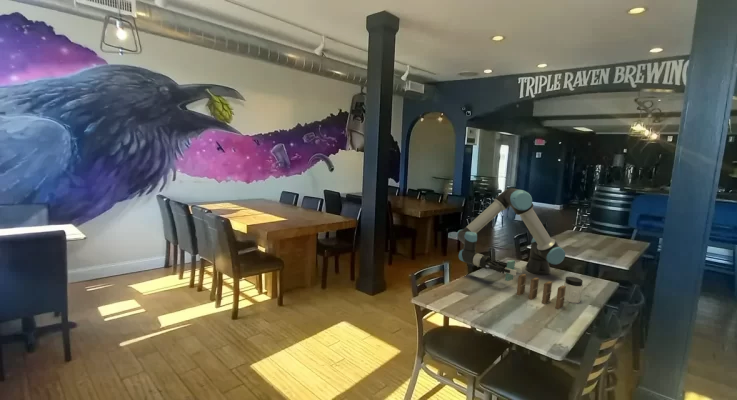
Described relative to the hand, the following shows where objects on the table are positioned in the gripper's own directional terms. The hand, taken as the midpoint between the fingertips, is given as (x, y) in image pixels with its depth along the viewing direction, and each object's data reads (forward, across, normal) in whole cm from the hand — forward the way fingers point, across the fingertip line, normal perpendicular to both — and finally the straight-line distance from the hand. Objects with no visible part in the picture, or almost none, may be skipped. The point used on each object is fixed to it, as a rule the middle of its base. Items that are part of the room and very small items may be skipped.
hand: (518, 272), depth 206 cm
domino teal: (-5, 0, -6) cm, 8 cm away
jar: (+23, -16, -12) cm, 31 cm away
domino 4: (+23, 0, -12) cm, 26 cm away
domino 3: (+16, 0, -12) cm, 20 cm away
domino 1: (+2, 0, -12) cm, 12 cm away
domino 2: (+9, 0, -12) cm, 15 cm away
